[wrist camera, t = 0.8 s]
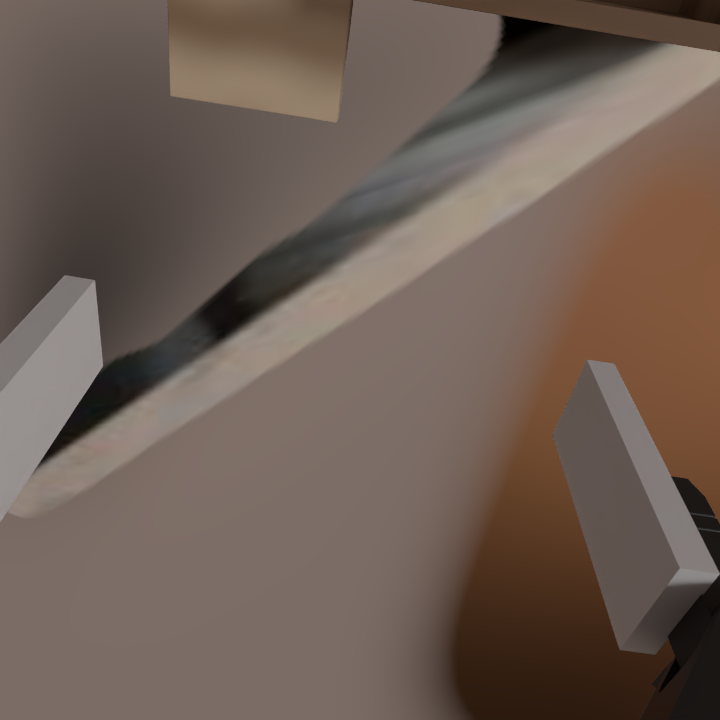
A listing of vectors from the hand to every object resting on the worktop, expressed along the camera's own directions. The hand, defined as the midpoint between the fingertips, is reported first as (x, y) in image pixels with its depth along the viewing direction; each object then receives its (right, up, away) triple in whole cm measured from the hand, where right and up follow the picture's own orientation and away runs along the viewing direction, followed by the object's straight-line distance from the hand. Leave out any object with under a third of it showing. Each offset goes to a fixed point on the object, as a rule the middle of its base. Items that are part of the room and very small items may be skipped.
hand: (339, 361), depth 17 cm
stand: (-4, +19, +16) cm, 25 cm away
